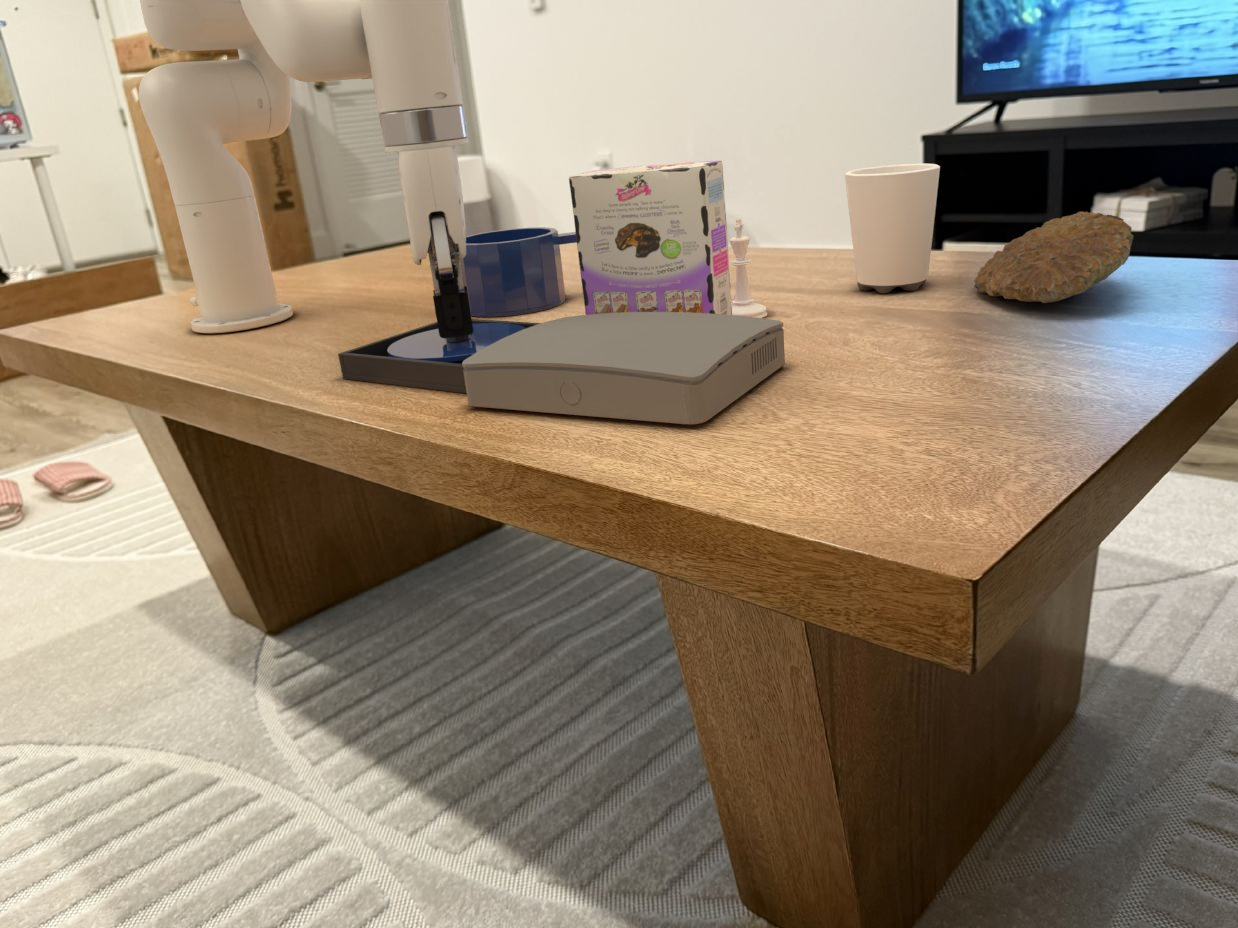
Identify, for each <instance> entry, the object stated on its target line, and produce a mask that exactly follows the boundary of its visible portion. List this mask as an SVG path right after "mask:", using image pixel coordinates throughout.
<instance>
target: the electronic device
mask: <svg viewBox="0 0 1238 928" xmlns="http://www.w3.org/2000/svg"><path fill="white" fill-rule="evenodd" d="M540 323H541V324H537V325H535V326H532V327H529V328H526V329H523V330H521V331H518V332H516V333H514V334H512V335H509V336H507V337H505V338H503V339H500V340H499V341H497V342H495V343H493V344H491V345H489V346H487V347H486V348H484V349H482V350H480V351H478V352H477V353H475V354H473V355H472V356H470V357H469V358H467V359H465V360H464V361H463V362H462V366H463V368H464V369H463V372H464V379H465V385H466V392H467V393H466V398H467V404H468V406H470V407H475V408H489V409H490V408H491V409H502V410H513V411H514V410H515V411H525V412H537V413H549V414H559V415H561V414H562V415H574V416H583V417H586V416H587V417H595V418H596V417H597V418H606V419H608V418H610V419H619V420H631V421H643V422H654V423H665V424H668V423H669V424H679V425H697V424H702V423H705V422H708V421H710V419H713V417H715V416H716V415H717V414H718V413H720V412H721V411H723V410H724V409H725V408H727V407H728V406H730V405H732V403H734V402H735V401H737V400H738V399H739V398H740V397H742V396H743V395H745V394H746V393H747V392H749V391H750V390H752V389H753V388H754V387H756V386H757V385H758V384H760V383H761V382H762V381H763V380H765V379H767V378H768V377H769V376H771V375H772V374H773V373H775V372H776V371H777V370H779V369H780V368H781V367H783V366H784V365H785V364H786V356H785V353H786V352H785V333H784V330H785V329H783V327H784V322H783V321H781V320H777V319H772V318H765V317H763V318H756V317H747V316H735V315H724V314H709V313H690V312H621V313H600V314H589V315H586V314H579V315H572V316H566V317H561V318H556V319H552V320H549V321H545V322H540Z"/></svg>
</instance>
